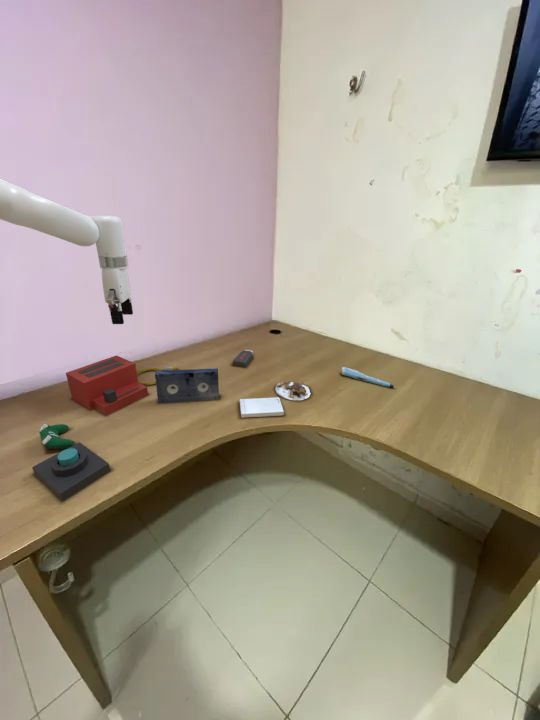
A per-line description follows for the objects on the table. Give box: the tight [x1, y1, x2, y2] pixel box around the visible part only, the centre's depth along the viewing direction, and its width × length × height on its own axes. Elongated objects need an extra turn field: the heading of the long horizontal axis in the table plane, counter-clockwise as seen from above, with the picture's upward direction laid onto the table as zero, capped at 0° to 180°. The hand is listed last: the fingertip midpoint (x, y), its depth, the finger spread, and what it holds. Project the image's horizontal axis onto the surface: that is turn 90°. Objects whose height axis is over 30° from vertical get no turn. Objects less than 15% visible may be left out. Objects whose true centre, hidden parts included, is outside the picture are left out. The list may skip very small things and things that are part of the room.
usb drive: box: [232, 349, 254, 369], centre depth 123 cm, size 5×12×3 cm, turn 166°
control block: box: [31, 441, 111, 502], centre depth 67 cm, size 12×10×4 cm
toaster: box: [65, 355, 149, 417], centre depth 94 cm, size 16×16×9 cm
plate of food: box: [274, 381, 311, 401], centre depth 102 cm, size 12×12×4 cm
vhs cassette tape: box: [154, 368, 220, 404], centre depth 94 cm, size 18×3×10 cm, turn 99°
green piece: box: [38, 423, 75, 450], centre depth 76 cm, size 9×4×6 cm
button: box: [57, 448, 79, 466], centre depth 66 cm, size 4×4×2 cm
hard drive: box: [239, 396, 285, 419], centre depth 93 cm, size 2×8×12 cm
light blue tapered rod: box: [341, 366, 395, 388], centre depth 112 cm, size 19×3×3 cm, turn 60°
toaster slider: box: [103, 389, 117, 403], centre depth 88 cm, size 2×2×3 cm
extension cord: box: [136, 365, 178, 387], centre depth 108 cm, size 12×16×2 cm
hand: (123, 318), depth 97 cm, fingers open, 9 cm apart
